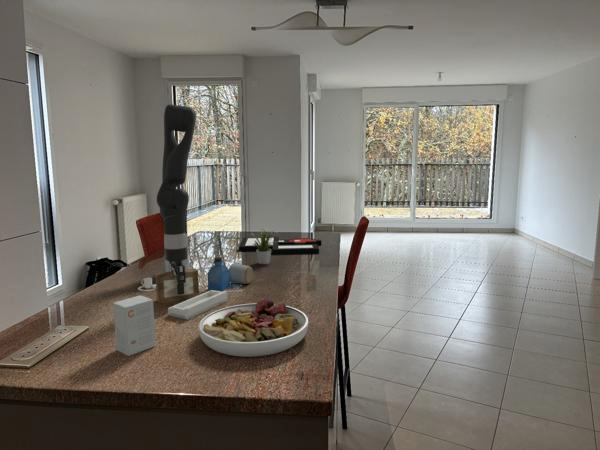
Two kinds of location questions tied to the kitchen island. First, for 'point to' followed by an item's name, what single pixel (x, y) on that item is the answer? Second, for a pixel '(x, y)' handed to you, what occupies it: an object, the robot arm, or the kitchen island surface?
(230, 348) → the bowl
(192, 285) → the oak frame
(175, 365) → the kitchen island surface
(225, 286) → the perfume bottle
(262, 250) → the house plant
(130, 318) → the small box
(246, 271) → the ceramic mug
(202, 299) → the frame
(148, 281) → the teacup and saucer
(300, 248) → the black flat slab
